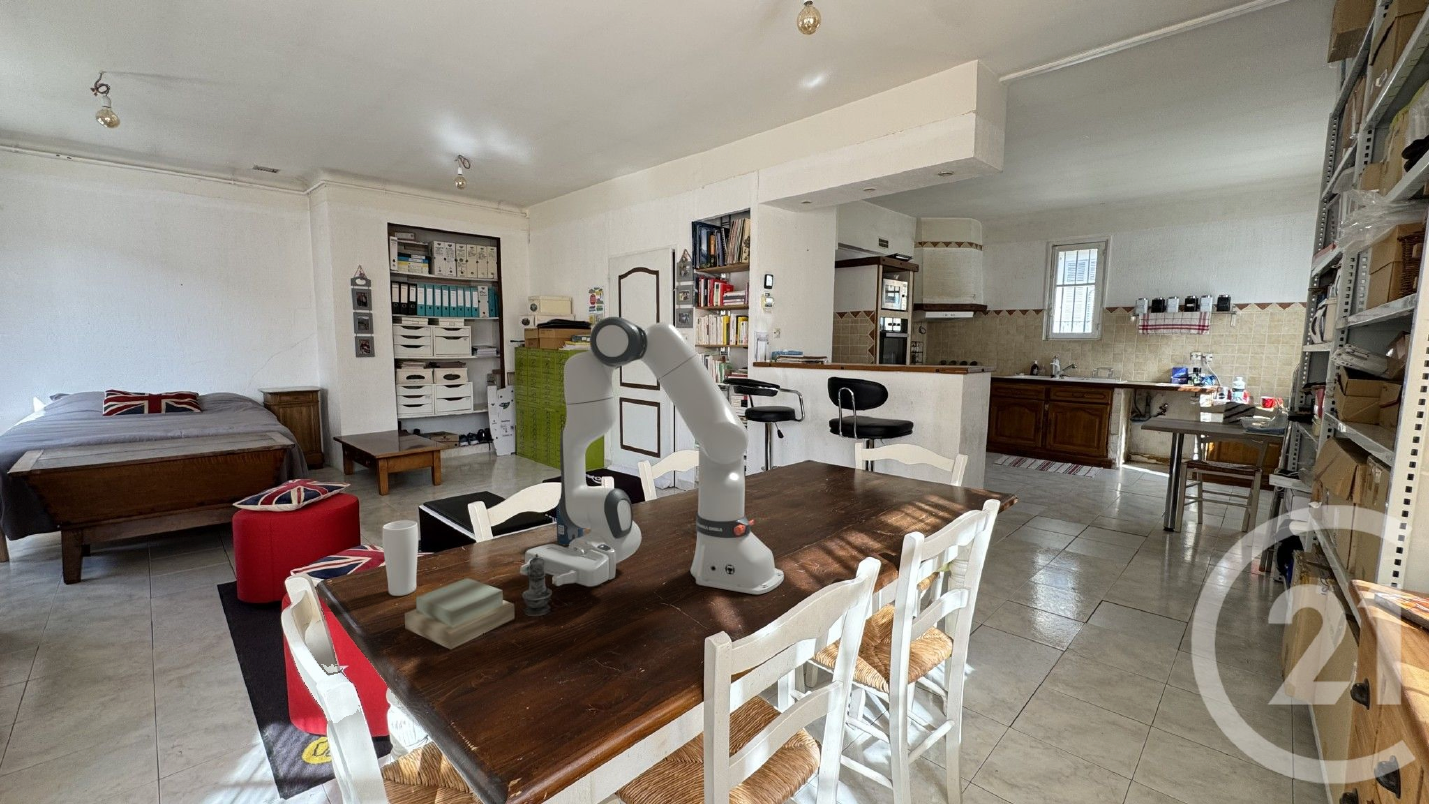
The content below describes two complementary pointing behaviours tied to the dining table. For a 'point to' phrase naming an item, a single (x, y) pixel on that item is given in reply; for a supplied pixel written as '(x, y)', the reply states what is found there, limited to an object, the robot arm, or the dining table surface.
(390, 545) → the drinking glass
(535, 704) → the dining table surface
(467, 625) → the brick tower base
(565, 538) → the soda can
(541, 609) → the dark grey ornamental finial
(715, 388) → the robot arm
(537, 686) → the dining table surface
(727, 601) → the dining table surface
